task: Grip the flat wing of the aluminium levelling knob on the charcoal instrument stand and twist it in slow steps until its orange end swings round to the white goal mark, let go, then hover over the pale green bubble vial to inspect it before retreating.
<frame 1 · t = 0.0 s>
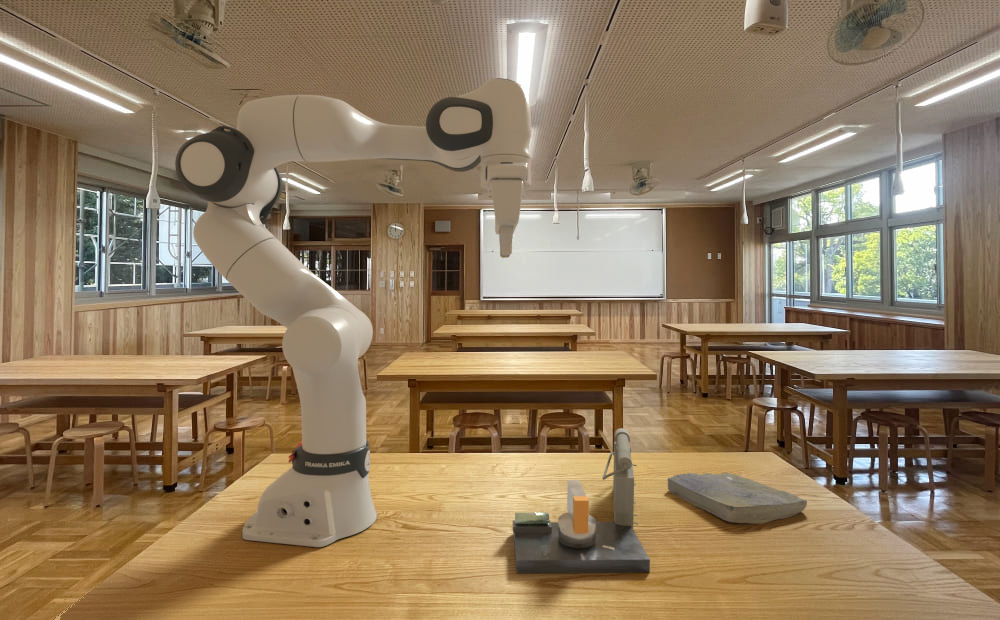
hand: (505, 256, 91), 48 cm above the table, fingers open, 8 cm apart
grey stone slab: (731, 503, 103), on the table
levelling knob: (577, 514, 83), point 6 cm above the table, hinge at 0.0°
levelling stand: (576, 551, 83), on the table
geiger counter: (618, 508, 100), on the table, touching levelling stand
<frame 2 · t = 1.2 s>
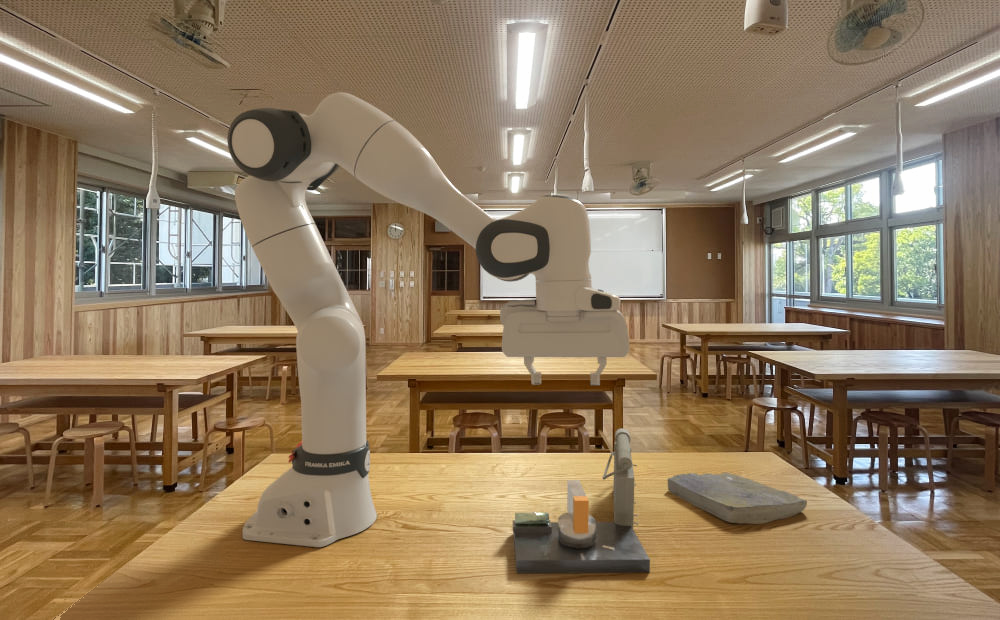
hand: (565, 384, 83), 27 cm above the table, fingers open, 8 cm apart
nothing on the table moved.
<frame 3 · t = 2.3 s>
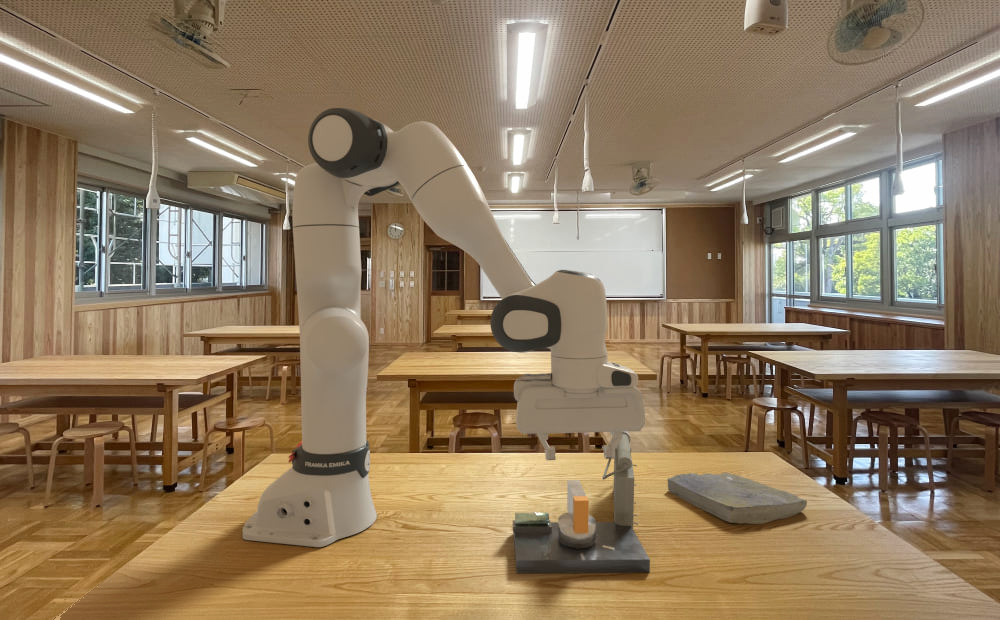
hand: (579, 458, 82), 15 cm above the table, fingers open, 8 cm apart
nothing on the table moved.
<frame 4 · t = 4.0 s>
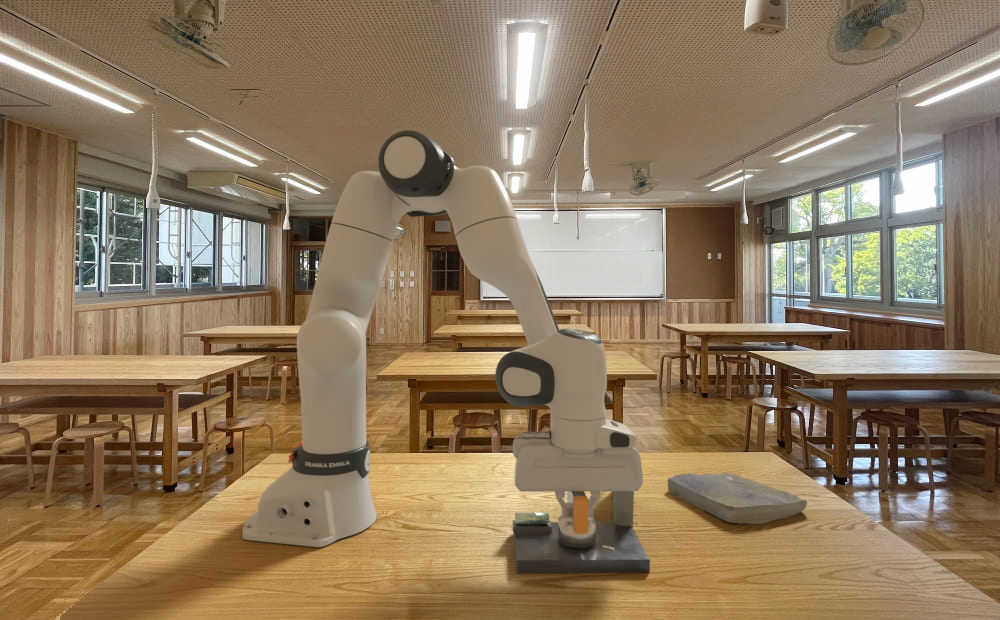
hand: (577, 516, 83), 6 cm above the table, fingers closed on levelling knob, 2 cm apart
levelling knob: (577, 514, 83), point 6 cm above the table, hinge at 0.0°, touching gripper
everything else where it was.
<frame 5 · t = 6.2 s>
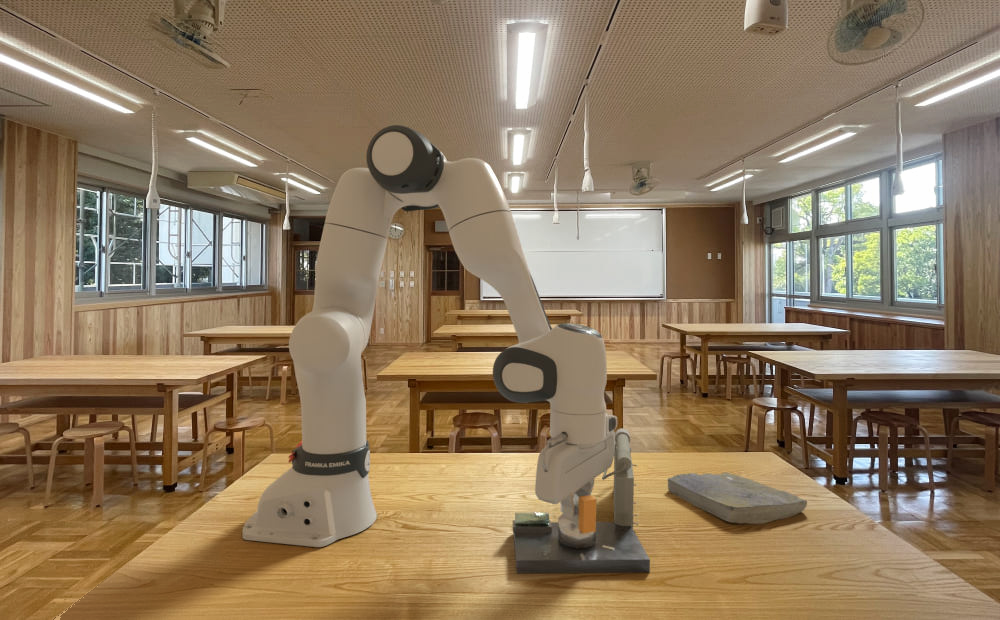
hand: (576, 510, 83), 7 cm above the table, fingers closed on levelling knob, 3 cm apart
levelling knob: (577, 514, 83), point 6 cm above the table, hinge at 18.4°, touching gripper
everything else where it was.
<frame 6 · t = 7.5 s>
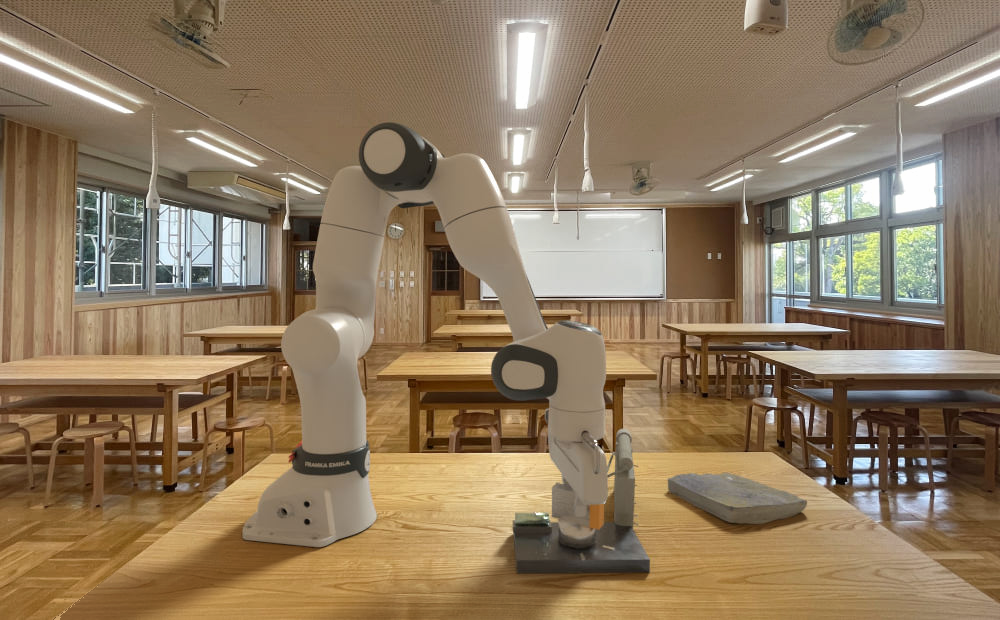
hand: (574, 507, 83), 7 cm above the table, fingers closed on levelling knob, 3 cm apart
levelling knob: (577, 514, 83), point 6 cm above the table, hinge at 58.8°, touching gripper
everything else where it was.
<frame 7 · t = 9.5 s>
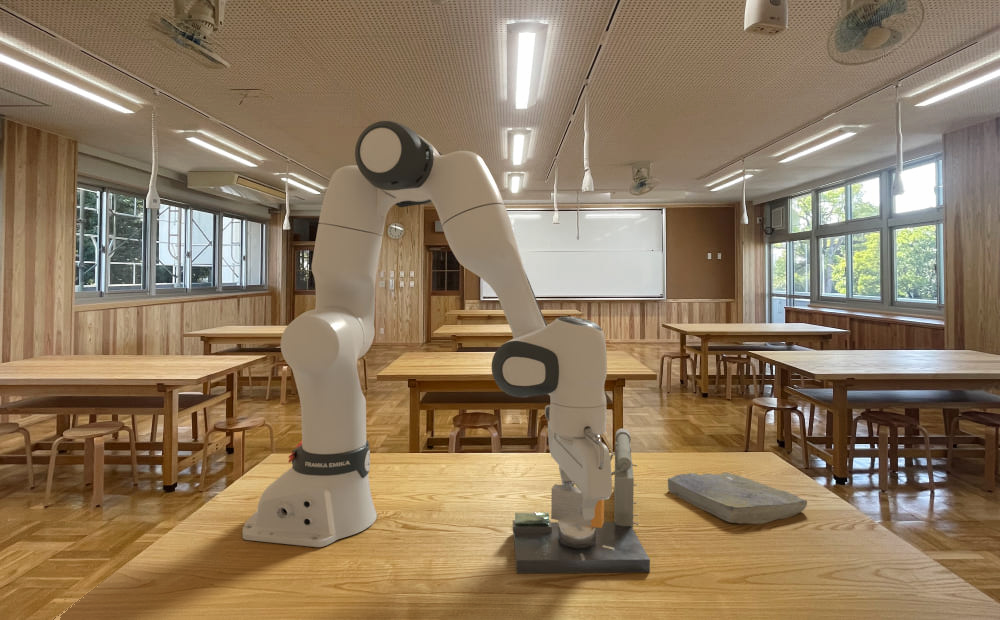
hand: (577, 504, 83), 8 cm above the table, fingers open, 8 cm apart
levelling knob: (577, 514, 83), point 6 cm above the table, hinge at 67.8°
everything else where it was.
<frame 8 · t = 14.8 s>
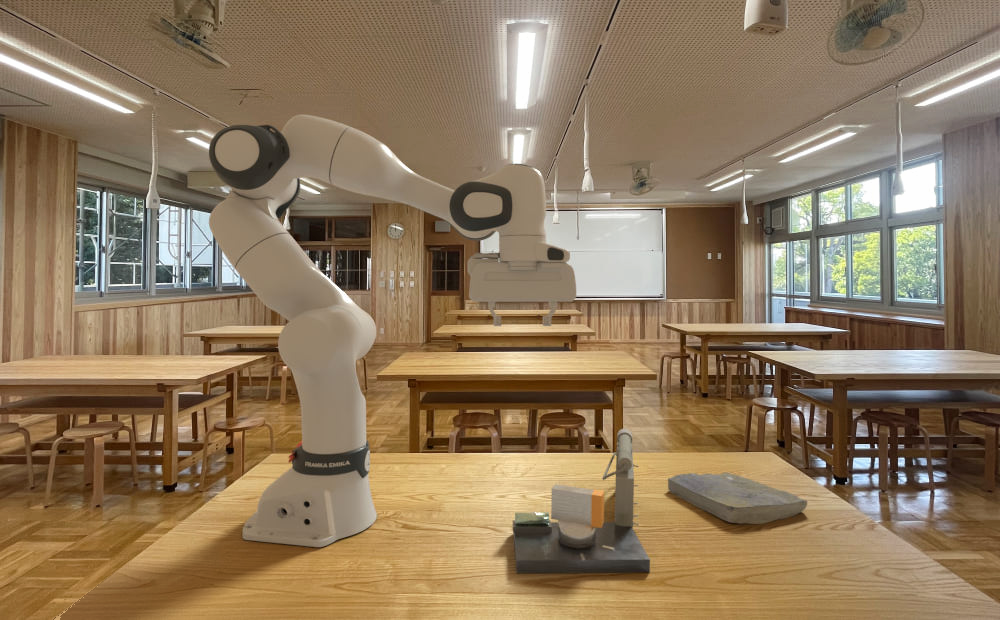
hand: (522, 325, 98), 35 cm above the table, fingers open, 8 cm apart
nothing on the table moved.
at the end: levelling knob at +68° (first picture: +0°); the gripper is holding nothing; geiger counter moved 0.8 cm from its start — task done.
